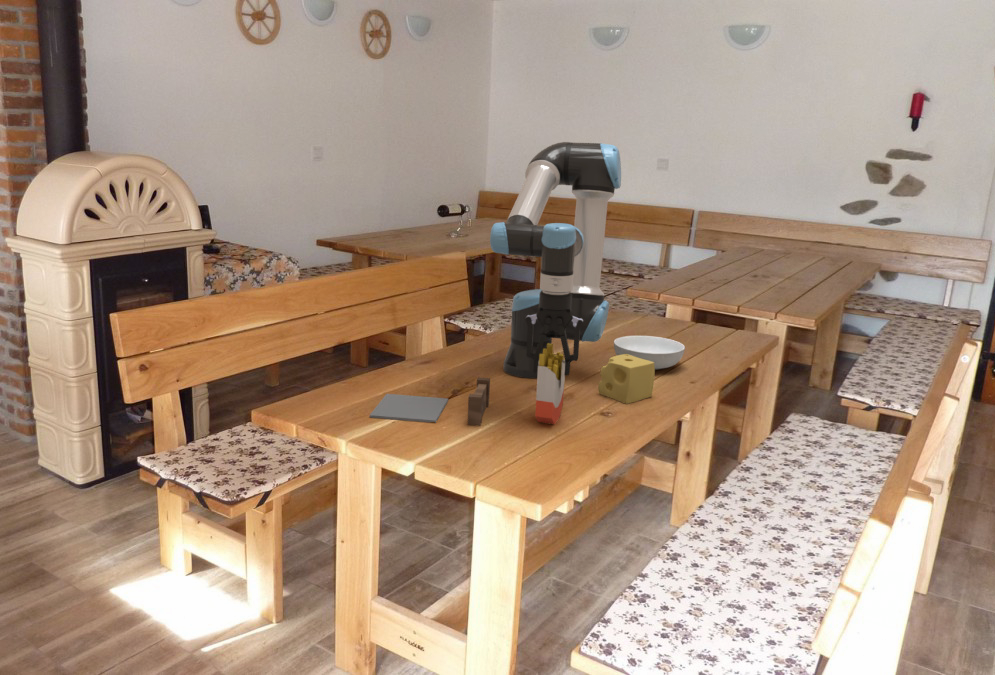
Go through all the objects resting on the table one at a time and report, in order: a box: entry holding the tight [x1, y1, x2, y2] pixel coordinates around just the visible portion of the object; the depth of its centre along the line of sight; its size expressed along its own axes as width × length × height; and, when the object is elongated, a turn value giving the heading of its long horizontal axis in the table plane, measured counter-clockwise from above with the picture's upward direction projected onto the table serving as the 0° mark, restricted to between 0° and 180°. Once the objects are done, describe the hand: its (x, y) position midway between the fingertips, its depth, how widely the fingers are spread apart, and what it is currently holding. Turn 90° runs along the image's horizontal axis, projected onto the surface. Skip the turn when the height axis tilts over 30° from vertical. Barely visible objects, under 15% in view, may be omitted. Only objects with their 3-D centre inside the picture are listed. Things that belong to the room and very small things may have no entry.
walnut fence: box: [467, 376, 491, 427], centre depth 201 cm, size 15×3×7 cm, turn 173°
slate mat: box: [369, 393, 449, 424], centre depth 204 cm, size 16×16×1 cm
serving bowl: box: [613, 335, 686, 371], centre depth 247 cm, size 21×21×7 cm
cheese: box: [597, 354, 656, 405], centre depth 219 cm, size 10×11×10 cm
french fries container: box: [535, 343, 565, 425], centre depth 198 cm, size 5×11×18 cm, turn 162°
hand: (550, 386), depth 198 cm, fingers open, 5 cm apart
